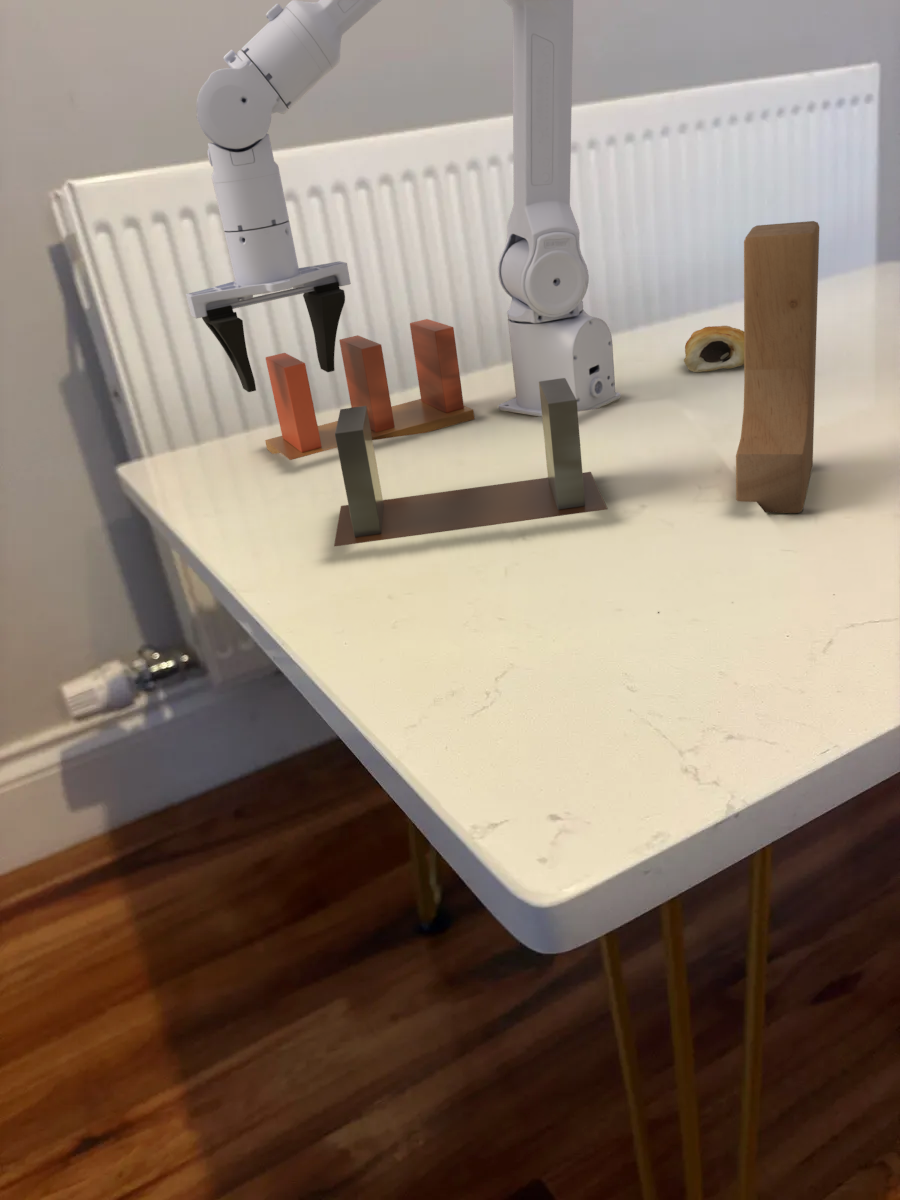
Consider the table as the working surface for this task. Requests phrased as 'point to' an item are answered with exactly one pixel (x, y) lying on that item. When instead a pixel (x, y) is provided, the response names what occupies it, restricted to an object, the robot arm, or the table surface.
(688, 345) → the pastry
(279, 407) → the terracotta book
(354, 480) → the grey book stand
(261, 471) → the table surface
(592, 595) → the table surface
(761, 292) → the wooden block
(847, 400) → the table surface
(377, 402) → the book rack
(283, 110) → the robot arm
